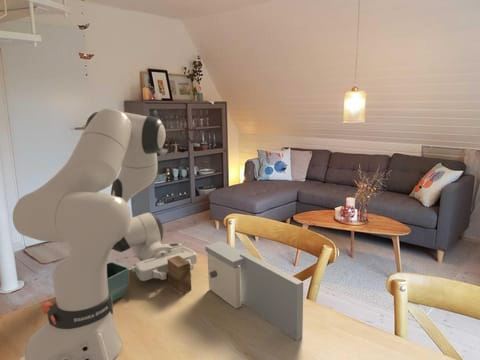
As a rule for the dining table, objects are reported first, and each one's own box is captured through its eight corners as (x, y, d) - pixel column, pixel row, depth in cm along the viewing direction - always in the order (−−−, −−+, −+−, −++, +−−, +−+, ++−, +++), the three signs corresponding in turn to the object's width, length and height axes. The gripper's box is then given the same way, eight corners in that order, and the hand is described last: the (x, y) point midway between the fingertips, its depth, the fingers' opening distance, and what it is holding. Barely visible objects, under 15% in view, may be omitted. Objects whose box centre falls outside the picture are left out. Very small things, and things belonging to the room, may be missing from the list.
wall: (285, 347, 88) (285, 290, 84) (207, 290, 114) (204, 244, 111) (302, 337, 91) (303, 281, 88) (223, 284, 118) (221, 239, 114)
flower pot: (89, 300, 110) (85, 272, 108) (114, 287, 117) (111, 261, 115) (107, 309, 105) (104, 280, 103) (132, 295, 112) (129, 268, 110)
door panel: (232, 310, 103) (231, 270, 100) (205, 290, 114) (203, 253, 111) (240, 306, 104) (239, 267, 102) (213, 287, 115) (211, 251, 113)
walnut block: (180, 294, 112) (178, 266, 110) (169, 285, 118) (167, 258, 116) (191, 289, 115) (189, 262, 113) (180, 281, 120) (178, 255, 118)
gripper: (128, 257, 119) (145, 273, 109) (184, 241, 131) (205, 254, 121) (129, 275, 121) (147, 292, 110) (185, 258, 133) (206, 272, 122)
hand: (178, 272), depth 115 cm, fingers open, 8 cm apart
